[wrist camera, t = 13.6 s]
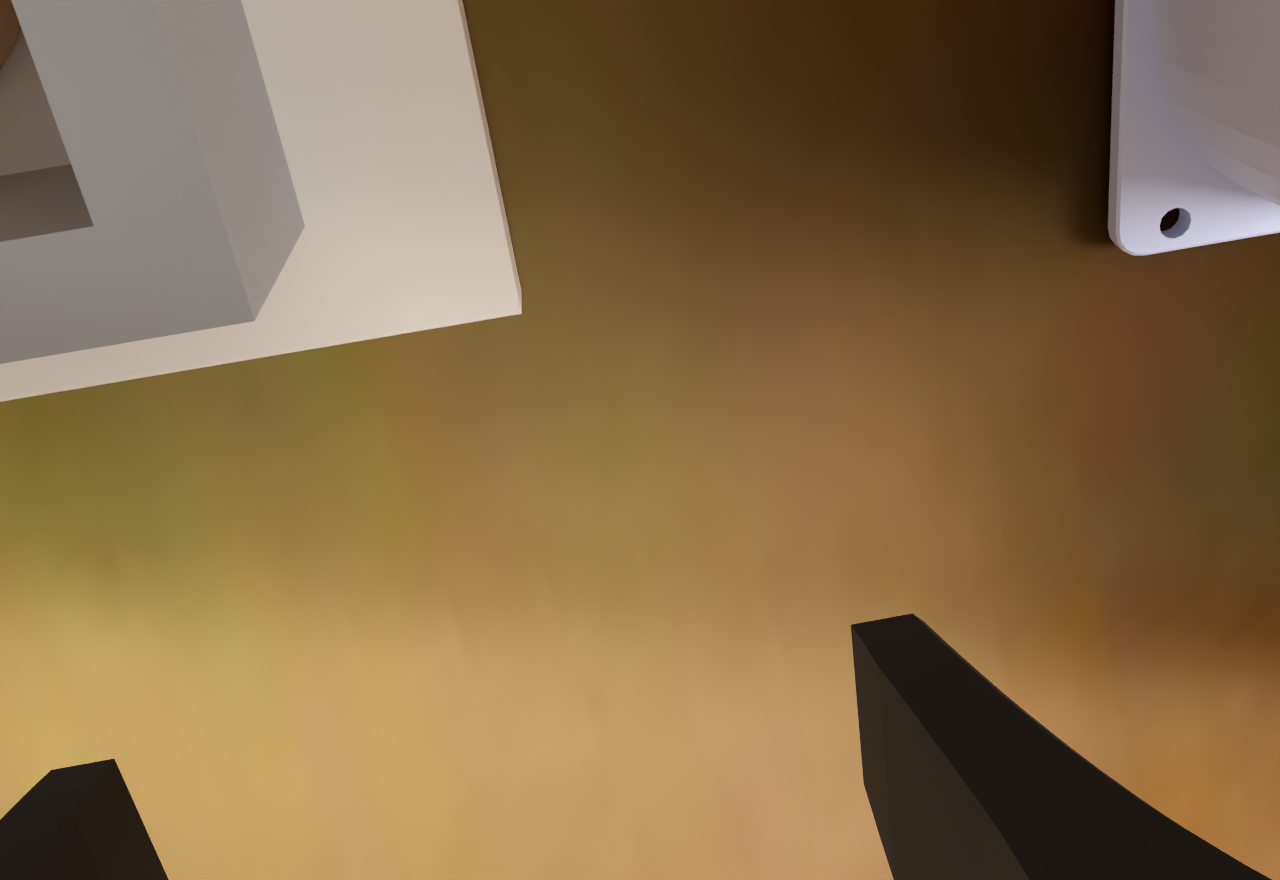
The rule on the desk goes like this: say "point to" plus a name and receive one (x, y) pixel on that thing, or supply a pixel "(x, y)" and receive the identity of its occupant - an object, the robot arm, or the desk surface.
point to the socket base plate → (239, 184)
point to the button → (7, 29)
